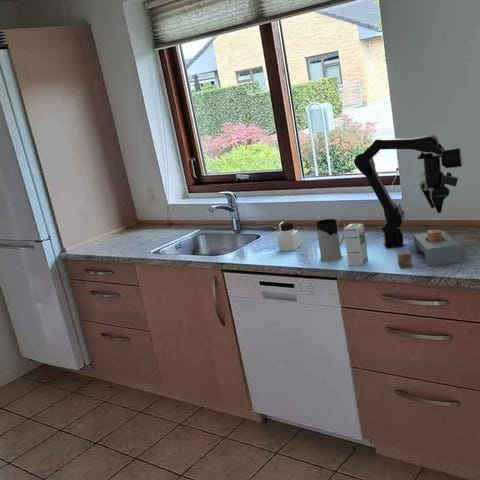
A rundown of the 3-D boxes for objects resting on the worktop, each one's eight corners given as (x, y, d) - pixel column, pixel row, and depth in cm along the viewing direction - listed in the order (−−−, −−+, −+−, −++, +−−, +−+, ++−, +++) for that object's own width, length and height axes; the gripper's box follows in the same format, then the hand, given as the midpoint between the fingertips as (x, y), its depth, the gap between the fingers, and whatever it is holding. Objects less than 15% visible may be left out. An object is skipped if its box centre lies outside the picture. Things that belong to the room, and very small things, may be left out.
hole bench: (428, 265, 194) (426, 249, 192) (414, 249, 213) (413, 234, 212) (460, 261, 193) (459, 244, 191) (444, 245, 212) (443, 230, 211)
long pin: (432, 257, 201) (429, 233, 199) (429, 254, 205) (427, 230, 203) (443, 256, 201) (441, 231, 199) (440, 253, 205) (438, 229, 202)
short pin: (400, 268, 196) (399, 255, 195) (398, 265, 200) (397, 252, 198) (412, 267, 195) (411, 253, 194) (409, 263, 199) (408, 250, 198)
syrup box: (363, 265, 206) (358, 227, 202) (347, 265, 209) (342, 227, 206) (368, 260, 210) (363, 223, 207) (353, 260, 214) (348, 223, 210)
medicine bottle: (300, 245, 246) (296, 219, 243) (294, 250, 240) (290, 223, 237) (285, 246, 249) (281, 220, 246) (279, 251, 243) (275, 224, 240)
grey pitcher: (315, 260, 222) (310, 223, 218) (340, 250, 229) (336, 214, 226) (331, 263, 215) (326, 225, 211) (356, 252, 222) (352, 215, 219)
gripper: (462, 169, 199) (465, 212, 203) (447, 162, 217) (450, 202, 221) (430, 174, 200) (434, 217, 204) (418, 167, 218) (421, 206, 222)
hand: (436, 210), depth 213 cm, fingers open, 9 cm apart
